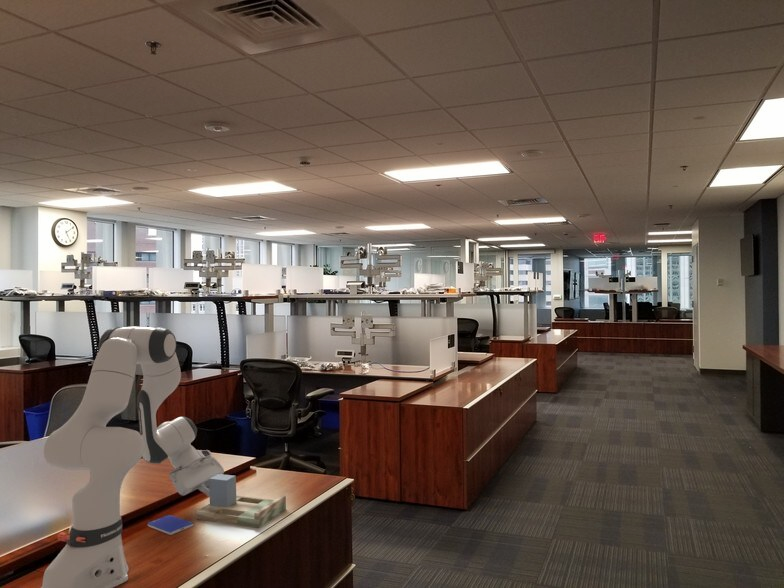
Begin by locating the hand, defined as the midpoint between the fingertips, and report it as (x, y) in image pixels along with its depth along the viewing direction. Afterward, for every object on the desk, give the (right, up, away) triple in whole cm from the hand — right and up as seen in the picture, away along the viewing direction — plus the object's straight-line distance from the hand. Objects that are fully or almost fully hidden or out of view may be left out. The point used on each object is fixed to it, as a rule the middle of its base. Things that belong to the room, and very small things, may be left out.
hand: (212, 494), depth 195 cm
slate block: (+4, -3, -1) cm, 5 cm away
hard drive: (-10, -6, -12) cm, 17 cm away
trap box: (+11, -5, -4) cm, 13 cm away
